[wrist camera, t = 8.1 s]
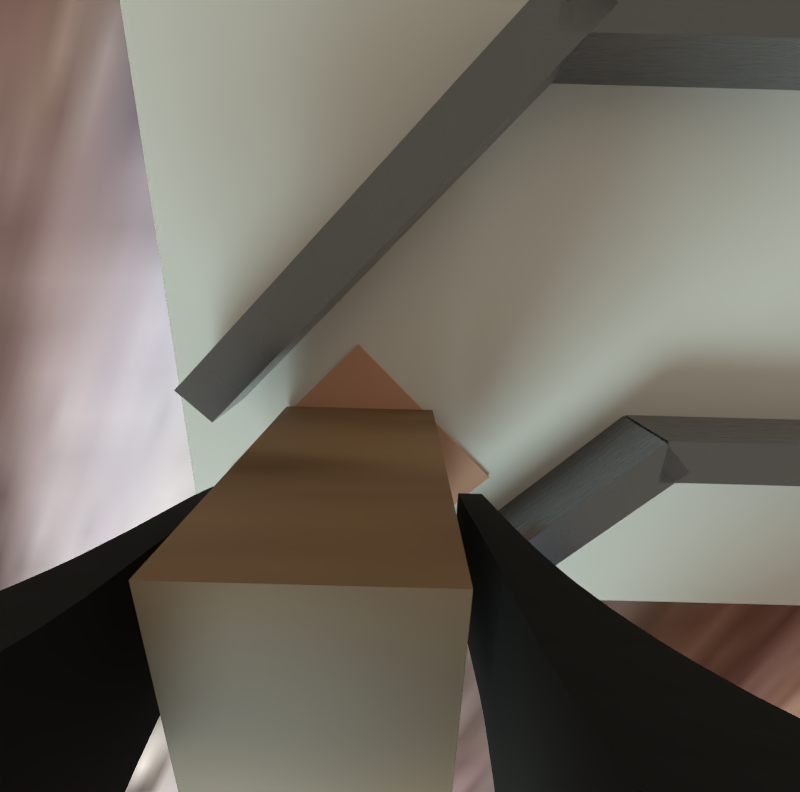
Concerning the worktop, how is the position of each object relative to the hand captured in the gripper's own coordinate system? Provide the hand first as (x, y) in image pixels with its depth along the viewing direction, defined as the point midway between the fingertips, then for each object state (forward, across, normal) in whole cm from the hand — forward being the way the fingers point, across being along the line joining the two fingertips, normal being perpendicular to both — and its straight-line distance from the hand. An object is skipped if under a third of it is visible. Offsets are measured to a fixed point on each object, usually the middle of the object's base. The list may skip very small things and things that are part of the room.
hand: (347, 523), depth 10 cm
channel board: (+3, -8, -4) cm, 10 cm away
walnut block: (+3, 0, 0) cm, 3 cm away
